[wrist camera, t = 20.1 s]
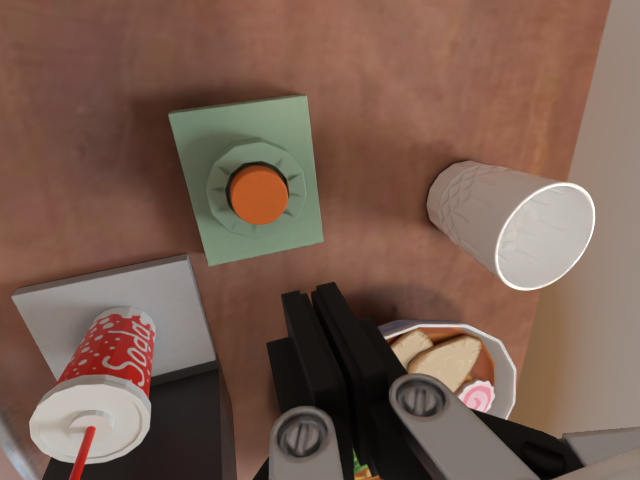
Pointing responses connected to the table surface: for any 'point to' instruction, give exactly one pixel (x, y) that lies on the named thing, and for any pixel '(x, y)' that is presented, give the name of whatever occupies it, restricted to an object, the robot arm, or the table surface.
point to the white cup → (513, 221)
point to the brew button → (258, 195)
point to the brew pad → (242, 151)
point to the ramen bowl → (454, 365)
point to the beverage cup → (100, 393)
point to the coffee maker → (167, 367)
